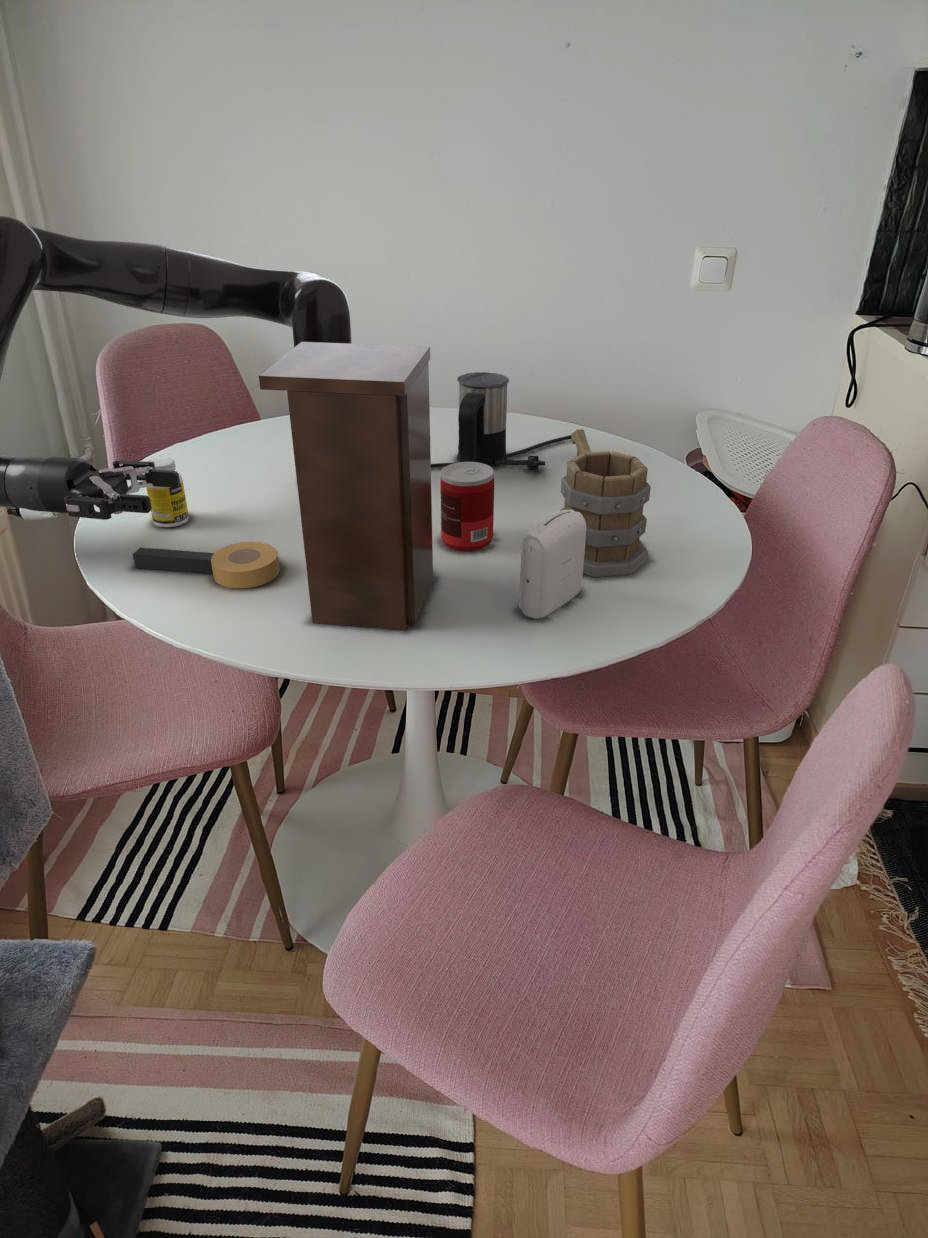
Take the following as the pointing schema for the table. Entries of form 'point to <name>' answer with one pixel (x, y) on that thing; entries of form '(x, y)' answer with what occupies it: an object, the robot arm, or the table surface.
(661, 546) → the table surface
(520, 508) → the table surface
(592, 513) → the tankard
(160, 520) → the supplement bottle
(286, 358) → the wooden cabinet
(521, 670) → the table surface
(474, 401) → the milk frother
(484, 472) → the canned food
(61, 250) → the robot arm
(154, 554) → the disc with black handle
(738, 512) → the table surface
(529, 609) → the photo printer
